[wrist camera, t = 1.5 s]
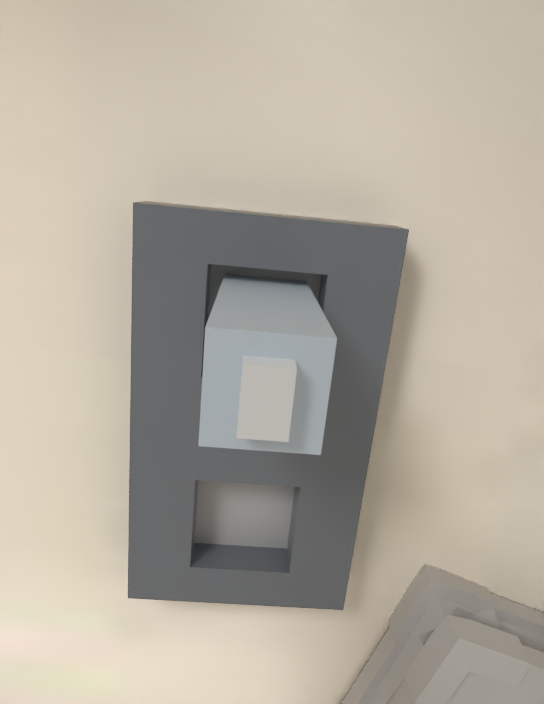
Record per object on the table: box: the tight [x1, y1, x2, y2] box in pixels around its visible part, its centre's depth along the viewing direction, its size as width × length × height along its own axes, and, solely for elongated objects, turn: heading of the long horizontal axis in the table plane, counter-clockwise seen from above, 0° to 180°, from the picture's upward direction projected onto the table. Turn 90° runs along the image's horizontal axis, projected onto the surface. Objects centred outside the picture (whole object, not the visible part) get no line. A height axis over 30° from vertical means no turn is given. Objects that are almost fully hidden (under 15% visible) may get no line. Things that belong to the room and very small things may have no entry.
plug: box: [198, 274, 337, 455], centre depth 20 cm, size 4×4×11 cm
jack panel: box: [128, 201, 409, 610], centre depth 26 cm, size 21×12×2 cm, turn 174°
